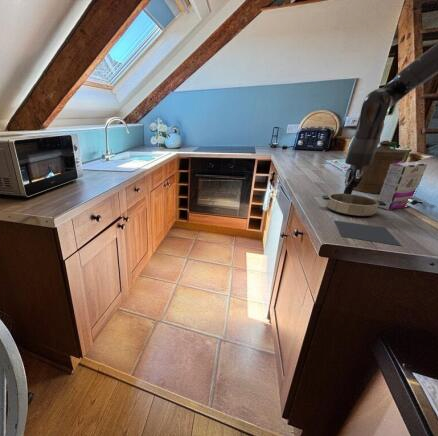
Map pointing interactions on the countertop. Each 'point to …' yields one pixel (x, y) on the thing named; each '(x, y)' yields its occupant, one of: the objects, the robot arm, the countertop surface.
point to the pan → (352, 204)
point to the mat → (366, 232)
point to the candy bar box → (400, 184)
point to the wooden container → (379, 168)
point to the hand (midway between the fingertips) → (346, 196)
